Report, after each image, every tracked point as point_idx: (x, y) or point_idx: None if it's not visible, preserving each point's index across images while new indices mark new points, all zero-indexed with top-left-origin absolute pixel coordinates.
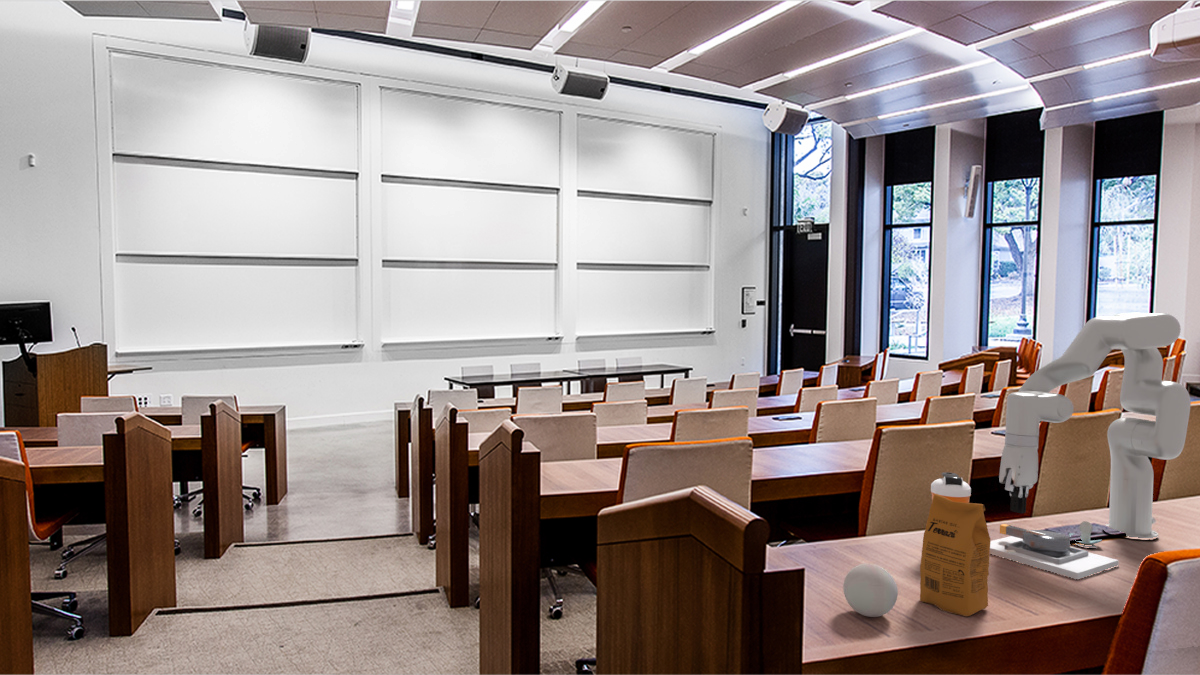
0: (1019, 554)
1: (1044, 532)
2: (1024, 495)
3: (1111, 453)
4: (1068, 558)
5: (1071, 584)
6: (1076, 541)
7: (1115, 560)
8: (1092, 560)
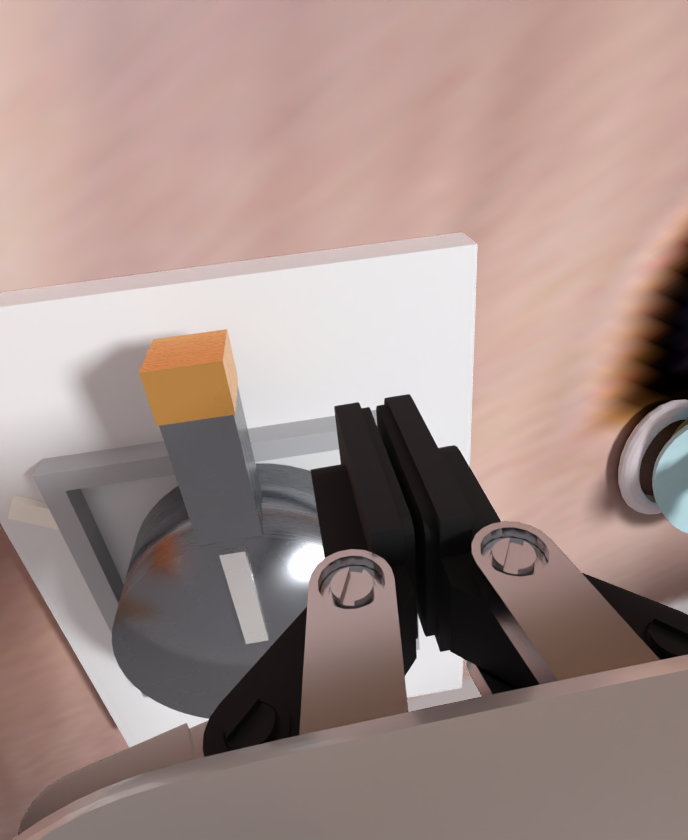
0: (57, 552)
1: None
2: (464, 658)
3: None
4: None
5: (66, 736)
6: (659, 454)
7: (444, 688)
8: None
